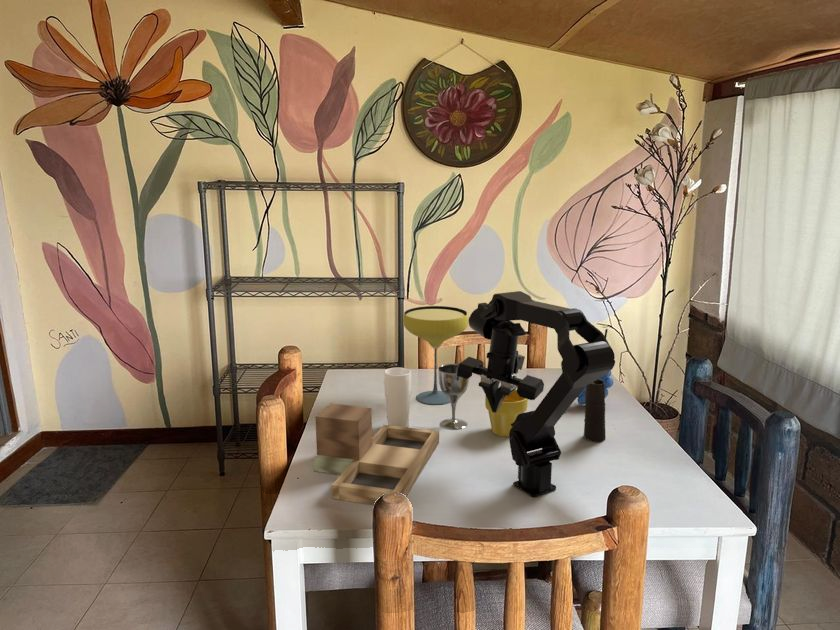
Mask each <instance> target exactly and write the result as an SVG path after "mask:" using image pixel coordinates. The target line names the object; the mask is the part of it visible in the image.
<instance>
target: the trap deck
mask: <svg viewBox="0 0 840 630" xmlns="http://www.w3.org/2000/svg"><path fill="white" fill-rule="evenodd" d="M382 425H383V426H381V427H380V429H379V430H378V431H377V432H376V433H375V434H374V435H373V436H372V446H371V447H370V448H369V450H368V451H367V452H366V453H365V454H364V456H363V457H362V458H361V459H360V460H353V459H346V458H338V457H331V456H323V455H317V454H316V456H315V457H314V458H313V472H315V471H318V472H317V473H322V472H326V473H325V474H330V473H333V474H332V475H337V474H339V475H338V477H337V479H336V480H335V481H334V482H333V483H331V498H332V499H333V500H339V501H340V500H341V501H346V502H353V503H359V504H365V505H372V506H374V505H373V504H374V503H375V501H376V500H377V499H378V498H379V497H381V496H382V495H383V494H385V493H388V492H399V493H402V494H404V495H406V497H407V496H408V494H409V493H410V491H411V490H412V488H413V486H414V485H415V483H416V482H417V480H418V478H419V476H420V475H421V474H422V472H423V470H424V468H425V466H426V465H427V464H428V462H429V460H430V459H431V457H432V455H433V454H434V452H435V450H436V449H437V447H438V446H439V444H440V431H439V430H433V429H431V430H430V429H424V428H415V427H409V426H408V427H399V426H390V425H388V424H382Z"/></svg>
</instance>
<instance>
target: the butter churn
mask: <svg viewBox="0 0 840 630" xmlns="http://www.w3.org/2000/svg"><path fill="white" fill-rule="evenodd" d="M603 335H604V336H605V338H606V339H607V336H608V328H606V329H605V331H604V334H603ZM583 421H584V425H583V427H584V428H583V429H584V430H583V437H584V438H585V439H586V440H587V441H589V442H593V443H601V442H604V441H606V398H605V382H604V381H602V380H599V379H598V380H596V381H594V382H592V383H590V384H588V385H587V386H586V398H585V404H584V420H583Z"/></svg>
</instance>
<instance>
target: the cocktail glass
mask: <svg viewBox="0 0 840 630" xmlns="http://www.w3.org/2000/svg"><path fill="white" fill-rule="evenodd" d="M402 315H403V317H402V323H403V326H404V328H405V329H406V330H407V331H408V332H409V333H410V334H412V335H413V336H415V337H418V338H420V339H422V340H424V341H426V342H427V343H428V344H429V345H430V346H431V348H432V349H434V366H433V368H434V375H433V380H434V381H433V389H432V390H427V391H423V392H420V393H419V394H417V395H416V400H417V401H418V402H420V403H421V404H426V405H429V406H430V405H431V406H432V405H433V406H439V405H446V404H451V402H450V400H449V399H448V398H447V396H446V395H445V394H444V393H443V392H442V390H439V388H438V377H437V376H438V372H437V370H438V369H437V368H438V364H437V363H438V359H437V358H438V357H437V353H438V352H437V349H439V348H440V347H441V346H442V344H443V343H444V342H446V341H447V340H449V339H451V338H454V337H456V336H458V335H460V334H462V333H463V332H464V331H465V330H466V329H467V327H468V326H469V314H468V312H467V311H466V310H464V309H462V308H459V307H453V306H442V305H440V306H439V305H425V306H417V307H412V308H409V309H407V310H405V311H404V313H403V314H402Z"/></svg>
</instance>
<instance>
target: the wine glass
mask: <svg viewBox="0 0 840 630" xmlns="http://www.w3.org/2000/svg"><path fill="white" fill-rule="evenodd" d="M458 364H459V363H446V364H442V365H440V366H439V367H437V368H438V369H437V370H438V372H437V376H438V377H437V379H438V385H439V387H440V391H442V392H443V393H444V394H445V395H446V396H447V398H448V399H449V400H450V406H451V418H446V419H443V420H440V422H439V426H440V427H441V428H443V429H446V430H452V431H455V430H462V429H465V428H467V426H468V422H466V421H465V420H463V419H461V418H456V409H457V403H458V402H459V399H460V398H461V397H462V396H463V395H465V393H466V392H467V390H468V388H469V384H470V378H471V377H470V378H468V379H465V378H462V377H459V376H457V375H456V368H457V366H458Z"/></svg>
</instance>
